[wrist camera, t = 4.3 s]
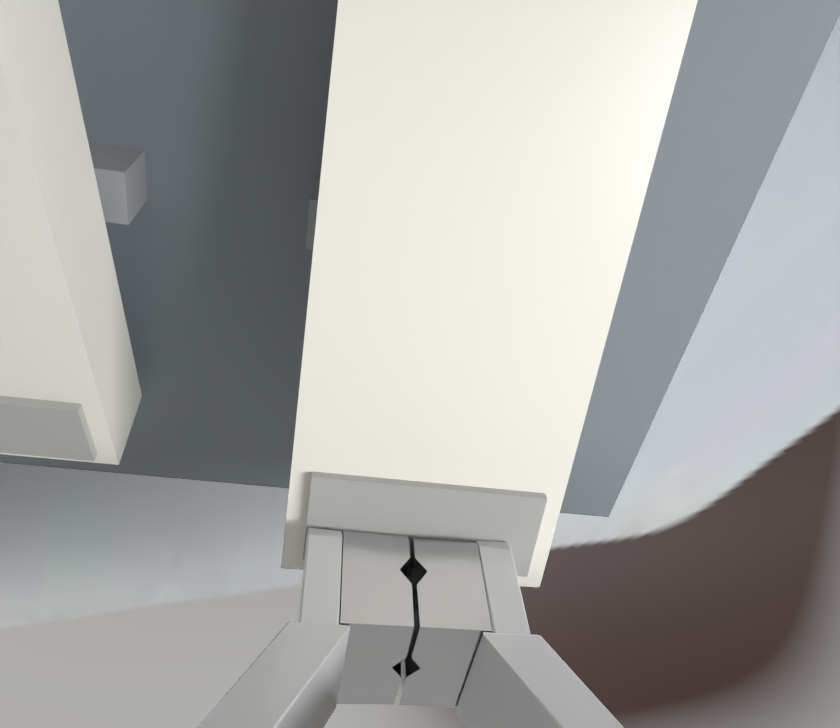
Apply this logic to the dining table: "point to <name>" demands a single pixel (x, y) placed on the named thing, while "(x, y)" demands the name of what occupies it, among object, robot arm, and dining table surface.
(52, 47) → the block
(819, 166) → the dining table surface
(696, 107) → the console
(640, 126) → the rocker
